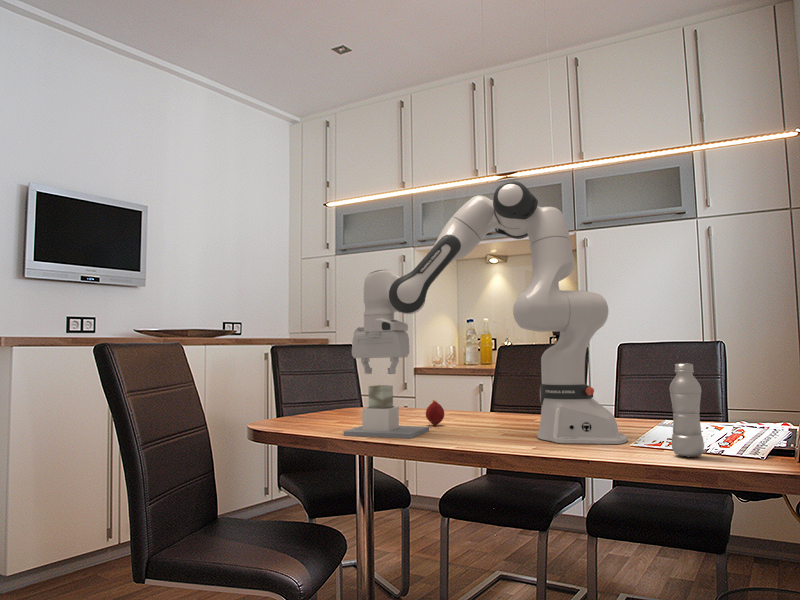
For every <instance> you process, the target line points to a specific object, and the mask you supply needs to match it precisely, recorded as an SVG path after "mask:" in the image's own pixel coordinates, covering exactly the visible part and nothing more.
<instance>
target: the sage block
mask: <svg viewBox="0 0 800 600" xmlns="http://www.w3.org/2000/svg"><path fill="white" fill-rule="evenodd" d="M393 386H394V385H384V384H382V385H380V384H379V385H368V407H373V408H387V407H393V406H394V397H393V396H394V392H393V391H394V389H393V388H394V387H393Z"/></svg>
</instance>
